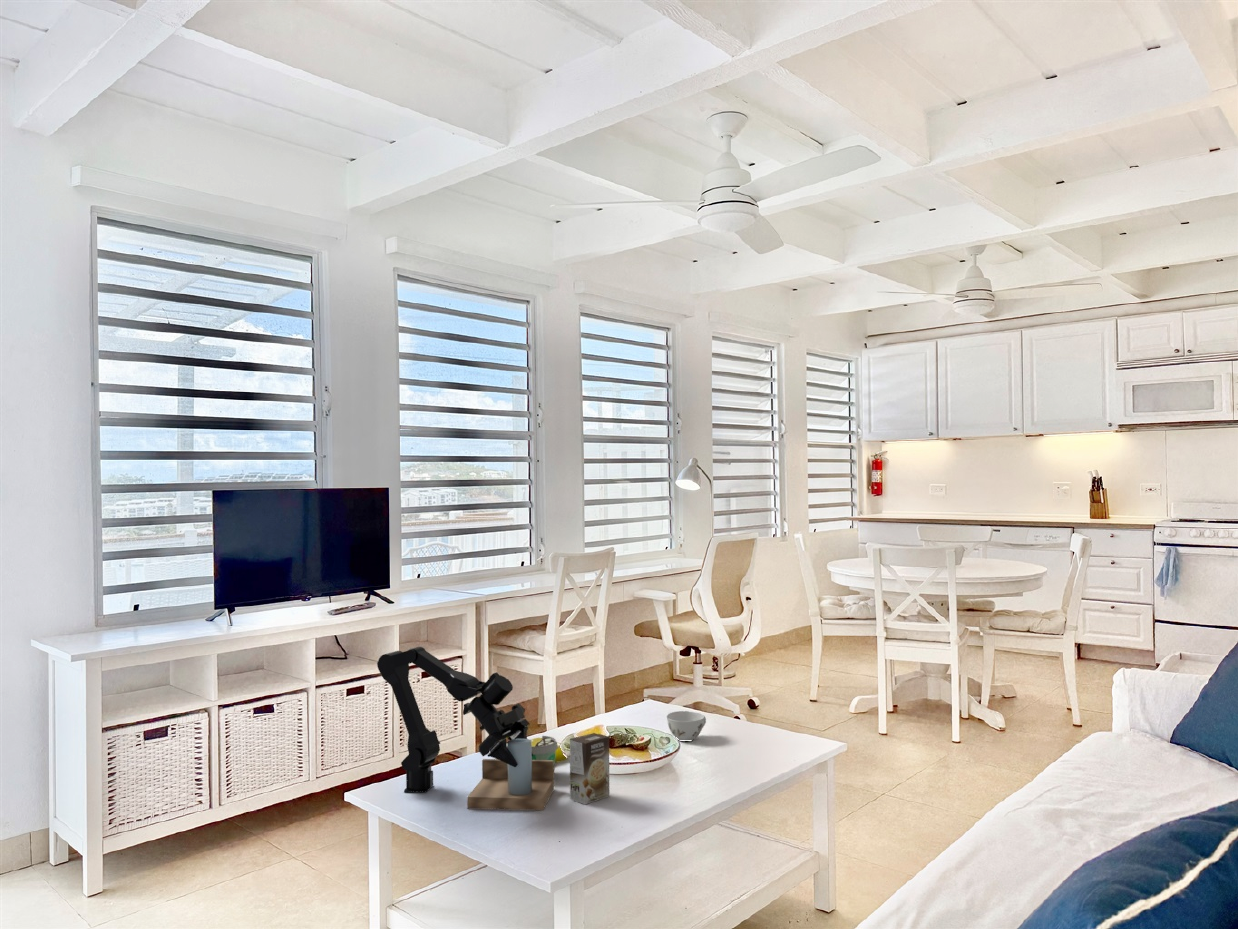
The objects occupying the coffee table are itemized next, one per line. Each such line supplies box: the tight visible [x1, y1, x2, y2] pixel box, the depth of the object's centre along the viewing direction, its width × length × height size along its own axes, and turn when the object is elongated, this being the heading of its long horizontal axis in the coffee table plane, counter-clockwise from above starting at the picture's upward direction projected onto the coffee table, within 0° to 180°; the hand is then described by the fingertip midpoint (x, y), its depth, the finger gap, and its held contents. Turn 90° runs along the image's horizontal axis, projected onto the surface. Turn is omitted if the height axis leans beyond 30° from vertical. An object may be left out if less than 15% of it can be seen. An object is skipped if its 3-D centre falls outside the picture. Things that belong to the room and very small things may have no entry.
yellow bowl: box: [530, 737, 567, 764], centre depth 265 cm, size 15×15×5 cm
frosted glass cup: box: [507, 738, 532, 795], centre depth 227 cm, size 6×6×13 cm
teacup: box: [666, 710, 707, 741], centre depth 284 cm, size 15×12×8 cm
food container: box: [532, 735, 558, 770], centre depth 248 cm, size 12×6×10 cm, turn 168°
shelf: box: [466, 758, 555, 811], centre depth 230 cm, size 20×16×8 cm
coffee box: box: [569, 732, 610, 805], centre depth 230 cm, size 9×6×16 cm
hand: (524, 761), depth 226 cm, fingers open, 8 cm apart
